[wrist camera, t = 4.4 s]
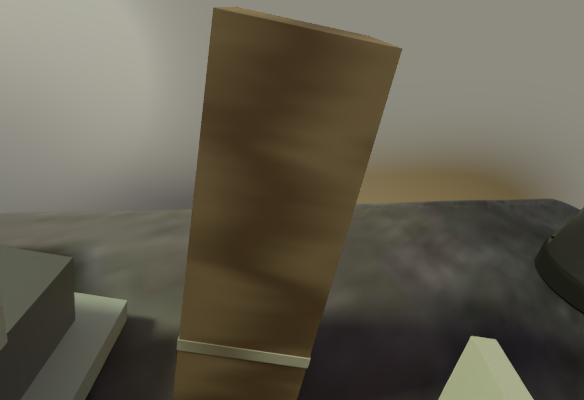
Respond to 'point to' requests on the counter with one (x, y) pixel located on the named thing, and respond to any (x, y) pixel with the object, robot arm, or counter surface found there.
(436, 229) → the counter surface
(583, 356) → the counter surface
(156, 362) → the counter surface
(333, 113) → the walnut peg
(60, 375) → the socket board
